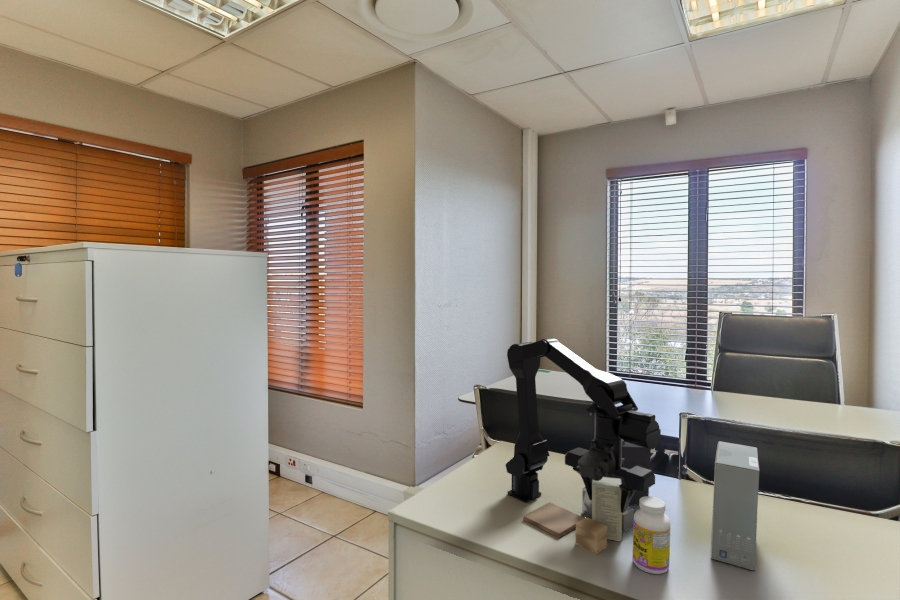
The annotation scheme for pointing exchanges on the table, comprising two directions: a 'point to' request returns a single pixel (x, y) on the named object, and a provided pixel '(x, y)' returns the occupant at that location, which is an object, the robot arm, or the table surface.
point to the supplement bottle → (651, 536)
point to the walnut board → (553, 519)
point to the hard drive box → (735, 505)
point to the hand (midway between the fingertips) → (606, 505)
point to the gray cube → (627, 519)
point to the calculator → (633, 458)
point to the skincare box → (608, 506)
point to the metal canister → (586, 504)
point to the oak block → (591, 535)
